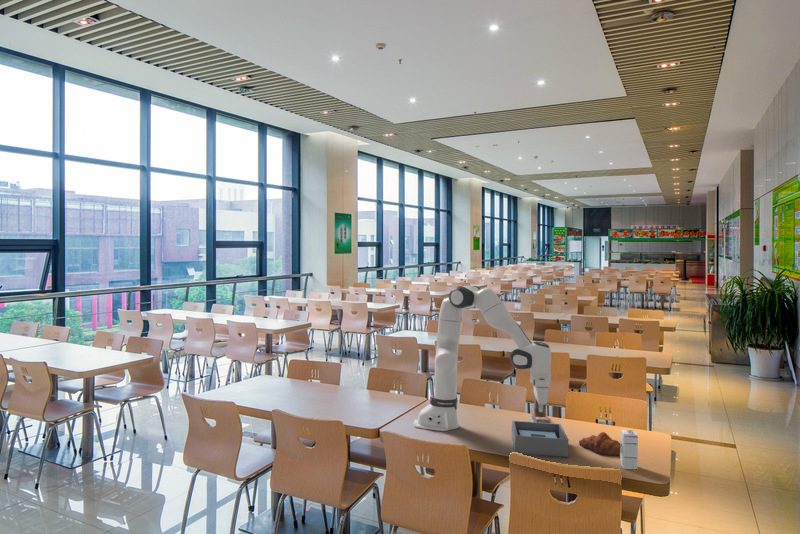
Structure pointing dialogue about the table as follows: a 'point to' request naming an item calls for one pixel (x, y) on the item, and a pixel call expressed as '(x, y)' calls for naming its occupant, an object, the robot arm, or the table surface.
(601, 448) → the pastry
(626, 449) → the syrup box
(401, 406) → the table surface
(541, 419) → the packaged product
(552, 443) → the open box
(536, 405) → the peg
